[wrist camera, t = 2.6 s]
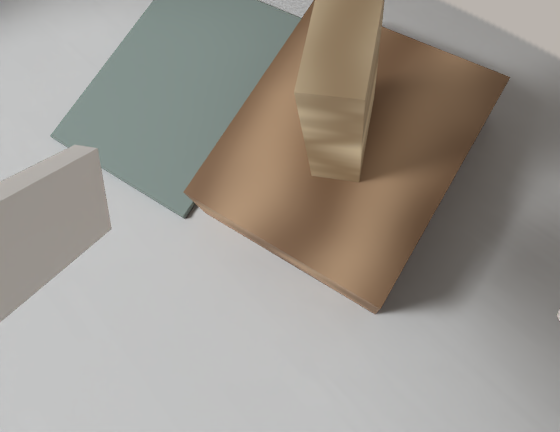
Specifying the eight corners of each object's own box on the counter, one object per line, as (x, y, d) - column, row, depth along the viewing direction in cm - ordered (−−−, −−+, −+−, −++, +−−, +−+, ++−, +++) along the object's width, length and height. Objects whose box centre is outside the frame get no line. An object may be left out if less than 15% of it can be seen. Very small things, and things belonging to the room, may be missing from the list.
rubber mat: (53, 138, 31) (50, 136, 31) (180, -29, 34) (178, -33, 33) (184, 218, 28) (182, 217, 27) (313, 27, 30) (313, 23, 30)
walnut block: (205, 213, 28) (183, 192, 24) (318, 43, 30) (314, -1, 26) (375, 314, 24) (380, 308, 20) (487, 115, 27) (510, 77, 23)
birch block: (311, 175, 23) (293, 92, 15) (328, 92, 24) (320, -23, 17) (359, 182, 22) (365, 99, 15) (374, 97, 24) (386, -19, 16)
